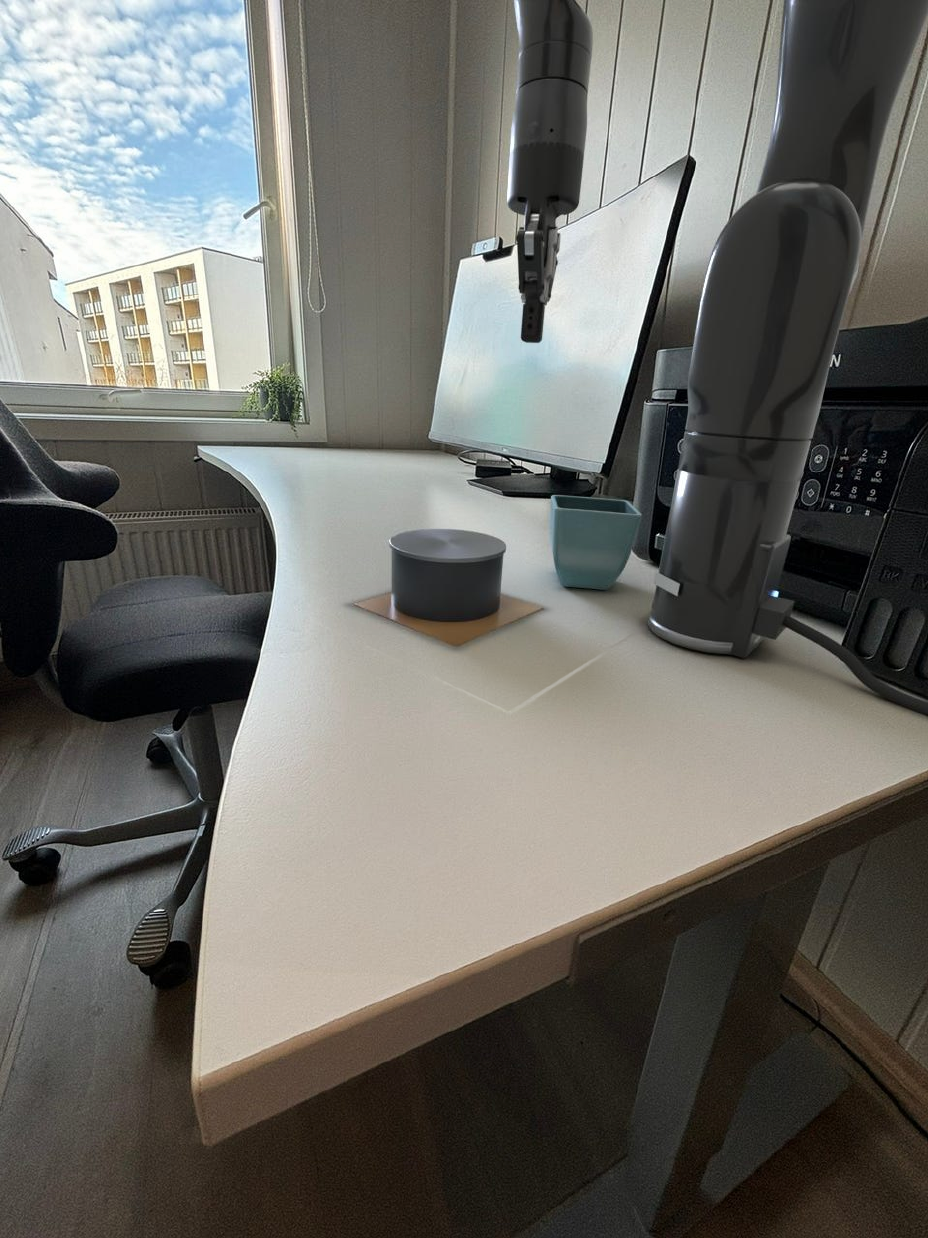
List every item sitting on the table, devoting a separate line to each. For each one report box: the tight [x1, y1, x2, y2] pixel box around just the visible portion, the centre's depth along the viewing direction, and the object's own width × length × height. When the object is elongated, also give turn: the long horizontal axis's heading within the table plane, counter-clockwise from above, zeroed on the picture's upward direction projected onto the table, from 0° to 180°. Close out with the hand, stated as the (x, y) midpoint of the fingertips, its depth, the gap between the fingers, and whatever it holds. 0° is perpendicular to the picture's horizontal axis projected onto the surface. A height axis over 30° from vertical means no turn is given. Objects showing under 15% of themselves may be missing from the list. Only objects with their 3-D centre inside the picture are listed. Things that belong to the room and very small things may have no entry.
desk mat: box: [353, 592, 544, 648], centre depth 55 cm, size 13×13×1 cm
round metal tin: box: [388, 528, 507, 622], centre depth 54 cm, size 11×11×6 cm
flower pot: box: [549, 494, 643, 591], centre depth 62 cm, size 9×9×9 cm
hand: (531, 341), depth 64 cm, fingers closed
